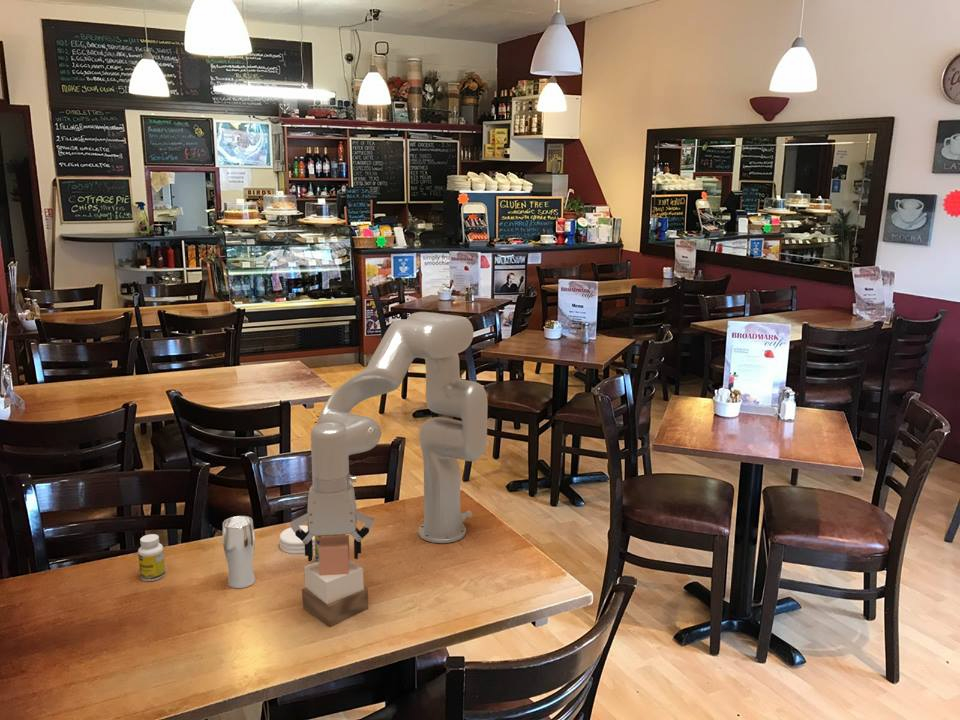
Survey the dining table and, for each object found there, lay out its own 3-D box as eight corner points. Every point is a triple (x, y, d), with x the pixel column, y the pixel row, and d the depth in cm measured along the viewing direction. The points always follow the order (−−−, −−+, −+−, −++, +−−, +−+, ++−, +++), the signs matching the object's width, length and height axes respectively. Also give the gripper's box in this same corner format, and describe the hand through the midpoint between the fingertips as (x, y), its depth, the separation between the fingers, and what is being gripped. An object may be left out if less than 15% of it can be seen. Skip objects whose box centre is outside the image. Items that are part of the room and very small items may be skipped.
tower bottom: (340, 592, 174) (340, 572, 173) (368, 609, 167) (367, 588, 166) (302, 609, 167) (302, 588, 166) (329, 628, 160) (329, 606, 159)
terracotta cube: (349, 560, 168) (348, 535, 166) (348, 573, 162) (347, 547, 161) (321, 561, 167) (320, 536, 166) (319, 575, 161) (318, 549, 160)
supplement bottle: (135, 579, 178) (131, 540, 176) (153, 568, 183) (149, 530, 181) (153, 584, 176) (149, 544, 174) (170, 573, 181) (167, 534, 179)
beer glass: (228, 592, 173) (224, 530, 169) (223, 578, 179) (219, 518, 175) (260, 585, 176) (256, 524, 173) (253, 571, 182) (250, 513, 179)
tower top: (341, 573, 172) (340, 553, 171) (363, 589, 165) (363, 568, 164) (305, 587, 166) (304, 566, 165) (327, 604, 160) (326, 582, 158)
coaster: (271, 547, 195) (271, 535, 194) (301, 533, 202) (300, 521, 202) (298, 558, 189) (298, 545, 188) (328, 543, 197) (327, 531, 196)
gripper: (373, 474, 165) (374, 547, 168) (290, 476, 162) (294, 551, 166) (372, 487, 157) (374, 563, 161) (286, 490, 155) (290, 567, 159)
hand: (333, 557), depth 164 cm, fingers open, 9 cm apart
